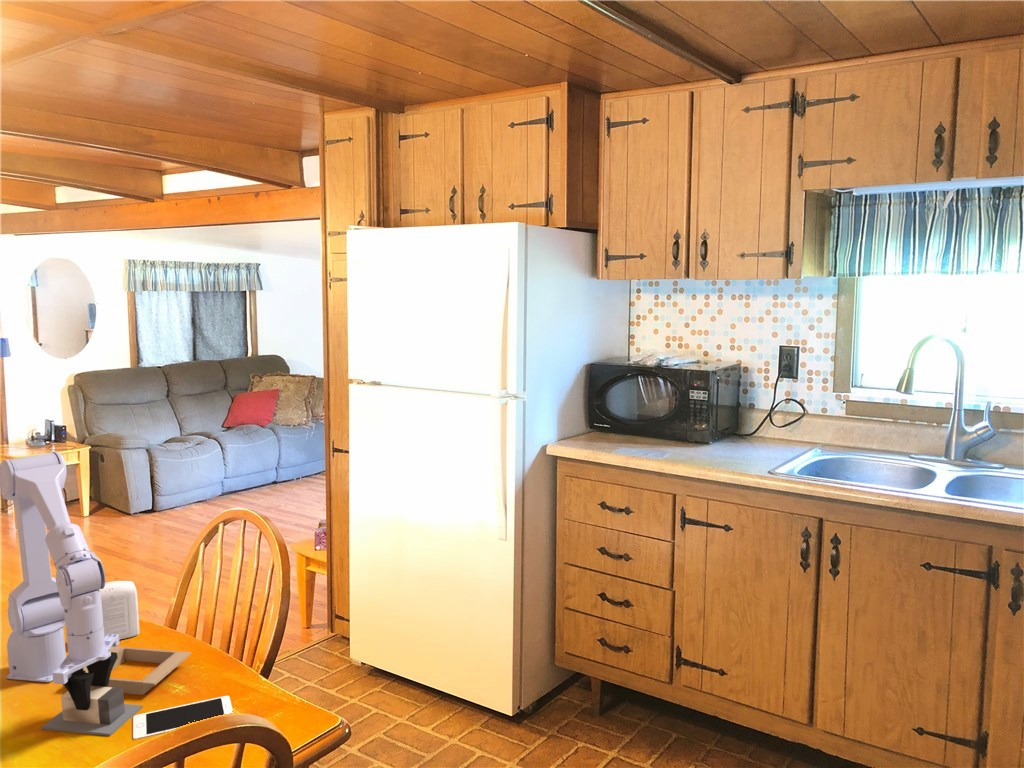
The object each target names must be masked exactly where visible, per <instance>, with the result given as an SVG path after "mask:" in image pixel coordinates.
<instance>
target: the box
mask: <svg viewBox="0 0 1024 768" xmlns="http://www.w3.org/2000/svg"><path fill="white" fill-rule="evenodd" d="M60 697H61V711H63V720H66V721H77V722H87V723H98V724H108V725H111V724H112V723H113V722H114V721H115V720H116V719H118V718H119V717H120V716H121V715H122V714H123V713H125V707H124V704H125V697H124V693H123V688H113V687H101V686H91V689H90V707H89V709H88V710H77V709H76V707H75V704H74V702H73V700H72V698H71V696H70V694H69V692H68V690H67V691H66V692H64V693H63V694H62V695H61V696H60Z"/></svg>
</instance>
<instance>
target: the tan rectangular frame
mask: <svg viewBox="0 0 1024 768" xmlns="http://www.w3.org/2000/svg"><path fill="white" fill-rule="evenodd" d="M110 652H116V653H117V657H118V658H117V660H116V662H115V664H114V666H113V669H112V671H113V670H114V668H115V669H116V668H117V667H118V665H119V666H120V665H122V664H123V662H125V661H130V662H143V663H151V664H152V663H153V664H154V663H155V664H159V665H158V666H157V667H156V668H154V669H153V670H152V671H150V673H148V674H147V675H146V676H145V677H144V678H142V679H141V680H139V679H130V678H128V679H127V678H117V677H116V678H115V677H110V679H109V684H108V687H113V688H123V694H125V695H127V694H128V695H137V696H144V695H145V694H147V692H149V691H150V690H151V689H152V688H154V687H155V686H156V685H157V684H158V683H160V681H162V680H163V679H164V678H166V676H167V675H169V674H170V673H171V672H172V671H173V670H175V669H176V668H177V667H179V665H180V664H182V663H183V662H184V661H185V660H186V659H187V658H188V657H190V656H191V655H192V651H191V652H190V651H177V650H166V649H153V648H140V647H128V646H116V647H111V648H110ZM84 670H85V671H86V673H88V670H87V667H84V668H83V671H84Z"/></svg>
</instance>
